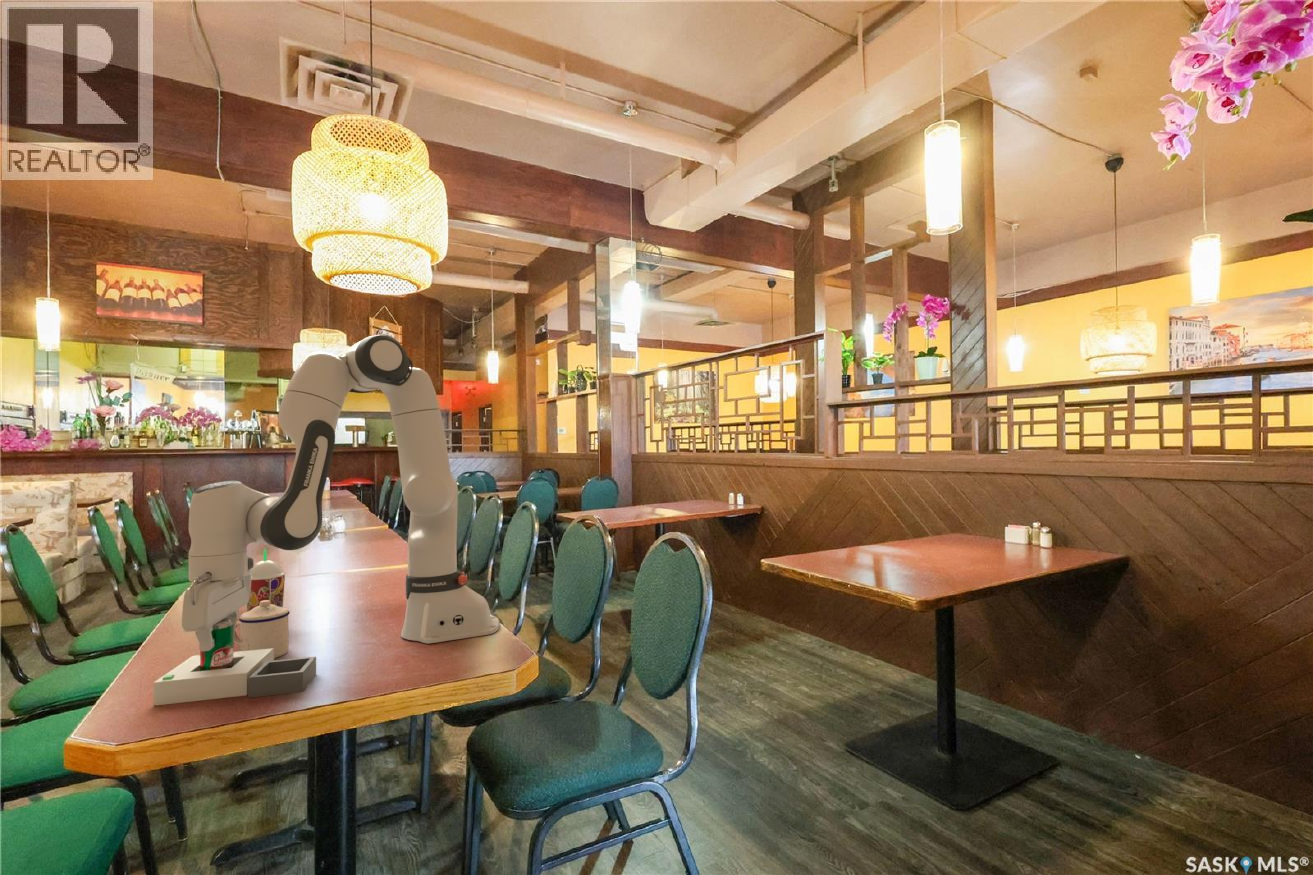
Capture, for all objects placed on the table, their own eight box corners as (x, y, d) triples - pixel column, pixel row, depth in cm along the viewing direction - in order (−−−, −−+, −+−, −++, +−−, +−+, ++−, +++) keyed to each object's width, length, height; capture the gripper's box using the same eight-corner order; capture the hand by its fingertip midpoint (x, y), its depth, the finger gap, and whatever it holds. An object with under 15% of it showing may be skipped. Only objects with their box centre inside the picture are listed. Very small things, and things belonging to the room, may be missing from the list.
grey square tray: (316, 674, 116) (316, 656, 116) (302, 691, 108) (302, 672, 108) (265, 679, 114) (265, 661, 114) (248, 697, 105) (248, 677, 105)
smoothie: (291, 628, 147) (291, 547, 147) (254, 638, 140) (254, 553, 140) (275, 624, 151) (274, 545, 152) (238, 632, 144) (238, 550, 145)
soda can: (213, 692, 108) (213, 625, 108) (193, 689, 110) (193, 623, 110) (240, 681, 113) (240, 618, 113) (220, 678, 114) (220, 616, 115)
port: (273, 668, 120) (273, 646, 120) (246, 695, 106) (246, 670, 106) (192, 676, 116) (192, 653, 116) (153, 705, 102) (153, 680, 103)
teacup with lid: (298, 648, 132) (298, 595, 132) (271, 662, 123) (271, 606, 123) (246, 648, 132) (246, 596, 133) (214, 663, 123) (214, 606, 124)
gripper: (213, 577, 102) (213, 658, 102) (257, 557, 122) (257, 625, 122) (170, 580, 101) (170, 662, 100) (221, 559, 120) (222, 628, 120)
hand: (218, 641), depth 111 cm, fingers open, 8 cm apart
